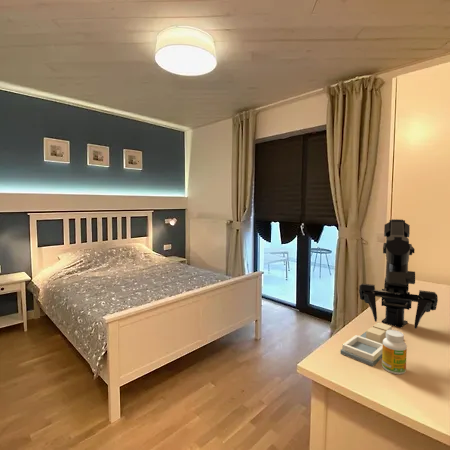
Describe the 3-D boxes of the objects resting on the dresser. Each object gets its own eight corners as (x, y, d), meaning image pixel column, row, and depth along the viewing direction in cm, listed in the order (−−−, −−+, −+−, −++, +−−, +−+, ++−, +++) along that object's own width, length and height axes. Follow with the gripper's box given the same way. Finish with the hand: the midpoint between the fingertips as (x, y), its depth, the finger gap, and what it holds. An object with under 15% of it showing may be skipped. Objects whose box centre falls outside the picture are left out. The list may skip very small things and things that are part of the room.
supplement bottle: (393, 376, 72) (395, 339, 71) (377, 364, 77) (378, 330, 76) (411, 372, 73) (412, 336, 72) (393, 361, 78) (394, 327, 77)
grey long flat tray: (372, 329, 97) (372, 318, 97) (402, 338, 90) (402, 326, 90) (340, 353, 83) (340, 340, 82) (372, 366, 76) (373, 352, 76)
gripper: (360, 256, 85) (354, 304, 77) (438, 262, 75) (441, 318, 67) (362, 276, 92) (357, 322, 84) (434, 284, 83) (436, 336, 74)
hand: (395, 324), depth 77 cm, fingers open, 9 cm apart
